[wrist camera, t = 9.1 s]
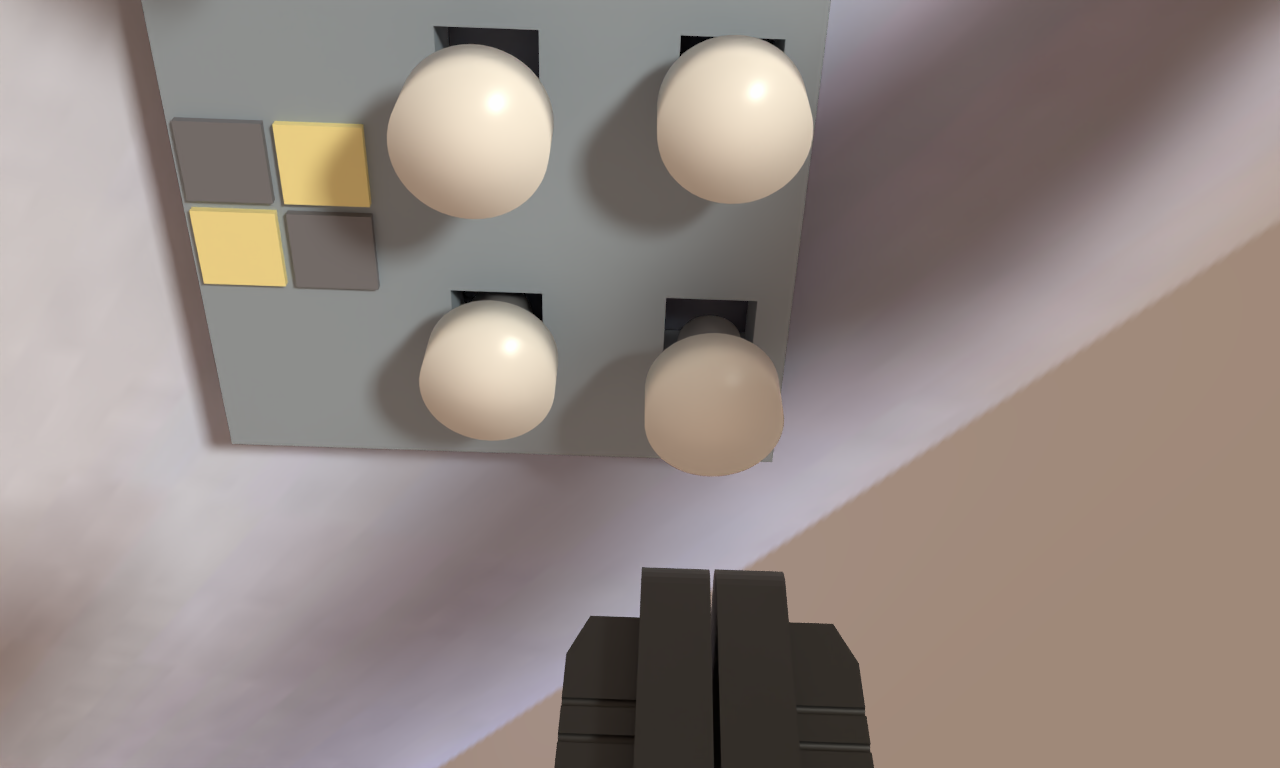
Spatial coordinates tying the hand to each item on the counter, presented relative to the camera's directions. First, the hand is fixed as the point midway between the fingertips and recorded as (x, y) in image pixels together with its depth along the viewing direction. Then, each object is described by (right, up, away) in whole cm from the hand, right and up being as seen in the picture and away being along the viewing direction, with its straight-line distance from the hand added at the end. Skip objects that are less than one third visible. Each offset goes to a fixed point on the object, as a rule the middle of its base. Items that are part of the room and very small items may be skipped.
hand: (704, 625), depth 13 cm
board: (-6, +10, +33) cm, 35 cm away
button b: (+2, +4, +33) cm, 34 cm away
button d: (-6, +5, +34) cm, 35 cm away
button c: (-6, +12, +27) cm, 31 cm away
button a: (+2, +13, +29) cm, 32 cm away
